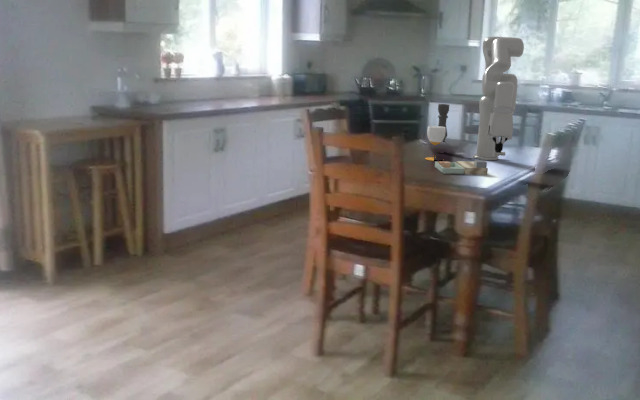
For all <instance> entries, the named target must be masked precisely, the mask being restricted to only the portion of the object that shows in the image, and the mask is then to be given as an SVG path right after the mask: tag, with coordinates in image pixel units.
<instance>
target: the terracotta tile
mask: <svg viewBox="0 0 640 400" xmlns="http://www.w3.org/2000/svg"><path fill="white" fill-rule="evenodd" d="M437 162H438V163H439V164H440V165H441V166H442V167H443V168H450V165H451V163H450V162H451V161H447V160H446V161H444V160H443V161H437Z"/></svg>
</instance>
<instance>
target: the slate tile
mask: <svg viewBox="0 0 640 400" xmlns="http://www.w3.org/2000/svg"><path fill="white" fill-rule="evenodd" d="M473 162H474V166H475V167H476V168H488V162H487V160H481V159H474V160H473Z"/></svg>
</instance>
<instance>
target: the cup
mask: <svg viewBox="0 0 640 400" xmlns="http://www.w3.org/2000/svg"><path fill="white" fill-rule="evenodd" d="M446 128H447V127H446ZM446 128H445V127H441V126H438V125H428V126H427V130H426V133H427V134H426V135H427V138H428V139H427V140H428V141H429V142H430V143H431V144H432V145H433V146H434V145H437V144H440V143H441V142H442V141H443V139H444V137H445V133H446ZM424 159H425V160H427V161H431V162H435V161H434V156H433V157H431V156H430V157H425V158H424Z"/></svg>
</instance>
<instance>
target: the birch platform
mask: <svg viewBox="0 0 640 400" xmlns="http://www.w3.org/2000/svg"><path fill="white" fill-rule="evenodd" d="M456 163H457V164H458V165H460V166H461V167H462V168H464V174H463V175H473V176H474V175H475V176H478V175H479V176H488V167H486V168H476V167H475V166H474V161H468V160H467V161H465V160H464V161H463V160H461V161H460V160H457V161H456Z"/></svg>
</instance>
